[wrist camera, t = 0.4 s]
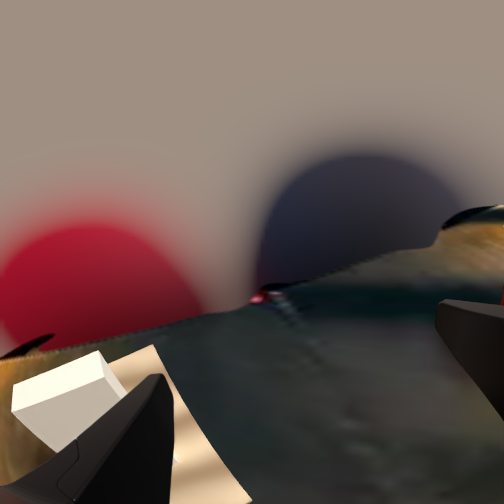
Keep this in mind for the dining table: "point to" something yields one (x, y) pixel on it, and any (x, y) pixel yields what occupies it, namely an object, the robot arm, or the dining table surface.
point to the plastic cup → (503, 302)
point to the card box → (67, 400)
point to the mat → (184, 442)
